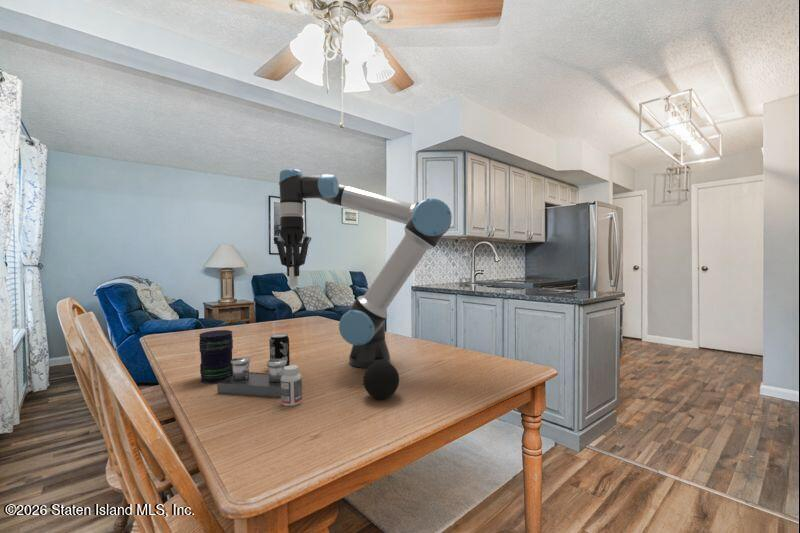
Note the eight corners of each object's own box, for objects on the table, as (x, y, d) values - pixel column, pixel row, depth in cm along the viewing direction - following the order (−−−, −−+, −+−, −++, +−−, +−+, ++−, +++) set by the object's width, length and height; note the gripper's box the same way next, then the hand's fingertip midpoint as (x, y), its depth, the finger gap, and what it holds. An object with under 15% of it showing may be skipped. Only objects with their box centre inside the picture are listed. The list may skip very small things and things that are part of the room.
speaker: (402, 391, 109) (402, 357, 109) (395, 405, 99) (394, 368, 99) (369, 389, 111) (368, 356, 111) (358, 403, 101) (358, 366, 101)
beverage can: (292, 366, 135) (291, 333, 135) (285, 371, 129) (284, 337, 129) (275, 365, 136) (274, 332, 136) (266, 371, 130) (265, 337, 129)
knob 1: (254, 384, 116) (253, 356, 116) (243, 390, 111) (243, 361, 111) (239, 383, 118) (238, 356, 117) (227, 389, 112) (226, 360, 112)
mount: (298, 384, 116) (298, 374, 116) (279, 397, 106) (279, 386, 106) (241, 380, 121) (240, 370, 121) (217, 393, 110) (217, 382, 110)
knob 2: (290, 386, 114) (289, 358, 114) (280, 393, 109) (280, 363, 108) (273, 385, 115) (273, 357, 115) (264, 392, 110) (263, 362, 109)
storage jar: (207, 386, 116) (205, 338, 115) (195, 379, 123) (194, 333, 122) (239, 377, 123) (238, 332, 123) (226, 371, 130) (225, 328, 129)
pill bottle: (300, 397, 106) (299, 363, 105) (304, 404, 101) (303, 368, 101) (280, 401, 103) (279, 365, 103) (283, 408, 99) (282, 371, 98)
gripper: (314, 216, 129) (316, 285, 130) (280, 218, 132) (281, 285, 133) (304, 214, 122) (306, 287, 123) (268, 216, 125) (270, 287, 126)
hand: (293, 286), depth 128 cm, fingers closed
